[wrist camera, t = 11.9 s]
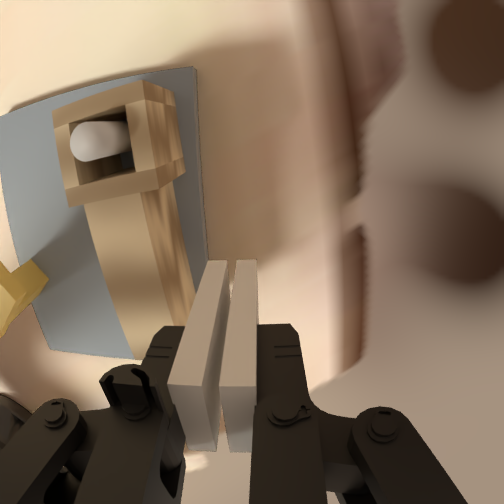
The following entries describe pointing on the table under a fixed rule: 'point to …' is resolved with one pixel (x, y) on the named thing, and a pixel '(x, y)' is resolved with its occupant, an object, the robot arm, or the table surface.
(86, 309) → the deck
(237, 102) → the table surface
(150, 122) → the link
